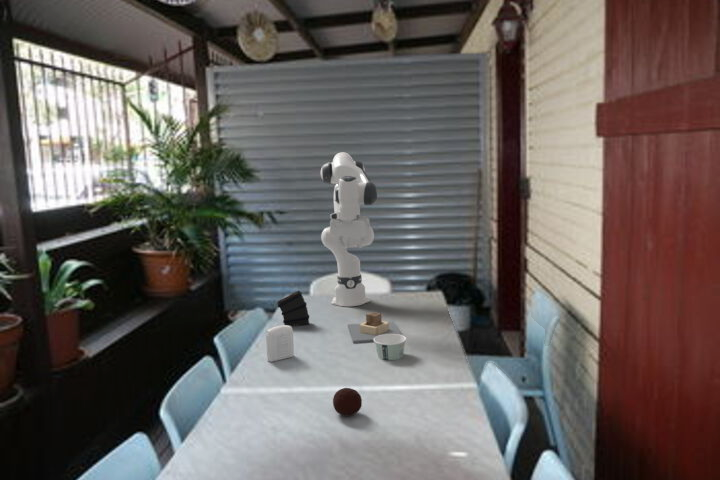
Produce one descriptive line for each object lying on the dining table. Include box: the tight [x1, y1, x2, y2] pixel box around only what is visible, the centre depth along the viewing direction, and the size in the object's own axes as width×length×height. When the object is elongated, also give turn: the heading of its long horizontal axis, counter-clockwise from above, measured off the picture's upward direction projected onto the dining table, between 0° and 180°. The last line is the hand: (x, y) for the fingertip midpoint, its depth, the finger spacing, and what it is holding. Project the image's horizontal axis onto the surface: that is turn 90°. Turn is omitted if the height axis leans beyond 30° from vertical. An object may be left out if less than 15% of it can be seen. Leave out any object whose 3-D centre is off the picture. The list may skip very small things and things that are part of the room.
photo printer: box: [265, 324, 295, 362], centre depth 216 cm, size 10×4×12 cm, turn 123°
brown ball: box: [332, 387, 363, 417], centre depth 168 cm, size 8×9×8 cm
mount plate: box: [347, 320, 402, 344], centre depth 242 cm, size 22×20×4 cm
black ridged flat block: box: [276, 290, 310, 327], centre depth 258 cm, size 4×13×15 cm, turn 92°
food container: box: [373, 334, 407, 361], centre depth 214 cm, size 12×12×6 cm
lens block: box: [365, 311, 383, 327], centre depth 242 cm, size 4×4×7 cm
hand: (351, 247), depth 250 cm, fingers open, 8 cm apart
